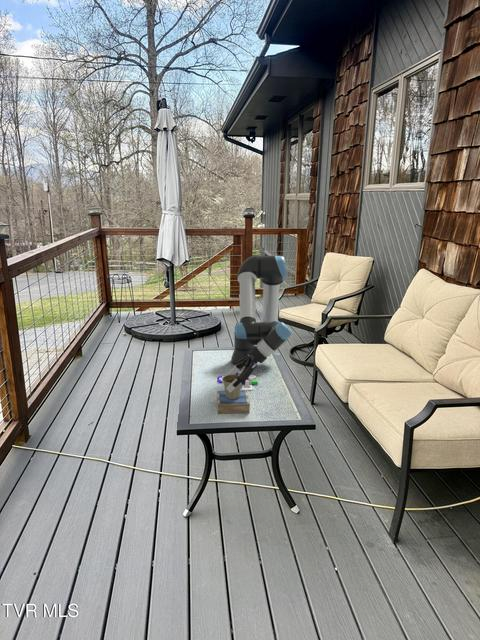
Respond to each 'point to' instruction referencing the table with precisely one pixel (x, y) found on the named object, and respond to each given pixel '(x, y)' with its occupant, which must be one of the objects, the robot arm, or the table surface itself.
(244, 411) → the plinth
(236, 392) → the flower pot
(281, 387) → the table surface
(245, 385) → the building block set
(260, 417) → the table surface
